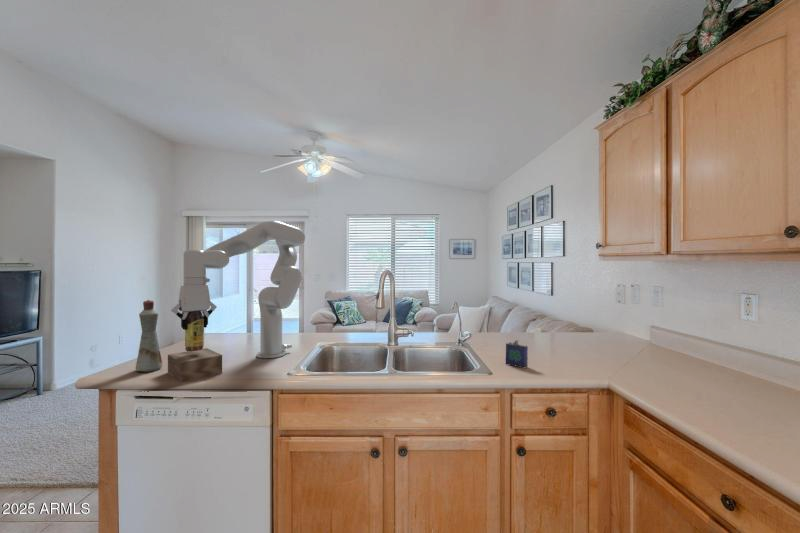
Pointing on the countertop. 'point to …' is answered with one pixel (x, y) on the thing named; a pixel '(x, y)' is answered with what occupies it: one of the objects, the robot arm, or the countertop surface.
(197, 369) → the walnut block
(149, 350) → the bottle
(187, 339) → the sauce bottle
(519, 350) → the flask
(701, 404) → the countertop surface
